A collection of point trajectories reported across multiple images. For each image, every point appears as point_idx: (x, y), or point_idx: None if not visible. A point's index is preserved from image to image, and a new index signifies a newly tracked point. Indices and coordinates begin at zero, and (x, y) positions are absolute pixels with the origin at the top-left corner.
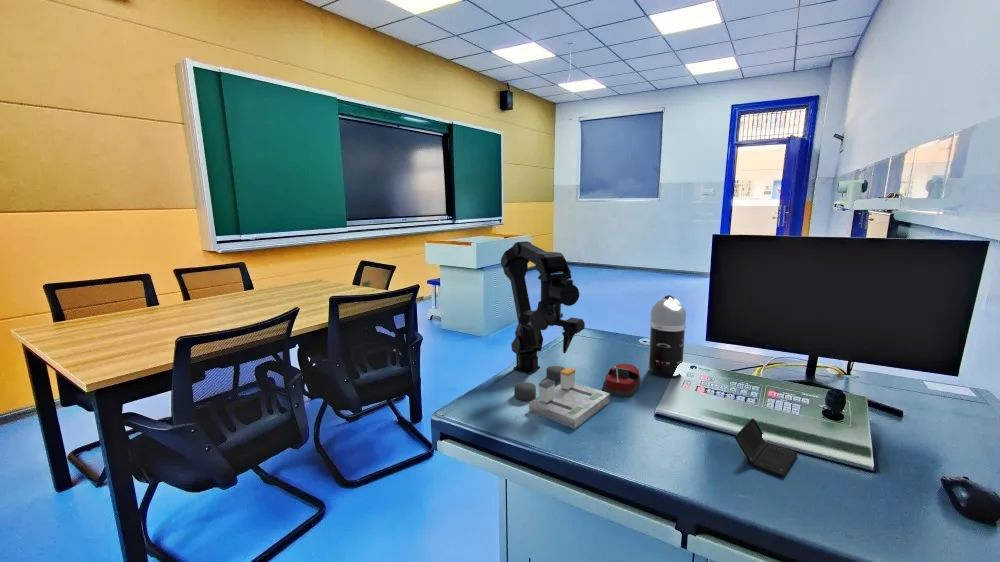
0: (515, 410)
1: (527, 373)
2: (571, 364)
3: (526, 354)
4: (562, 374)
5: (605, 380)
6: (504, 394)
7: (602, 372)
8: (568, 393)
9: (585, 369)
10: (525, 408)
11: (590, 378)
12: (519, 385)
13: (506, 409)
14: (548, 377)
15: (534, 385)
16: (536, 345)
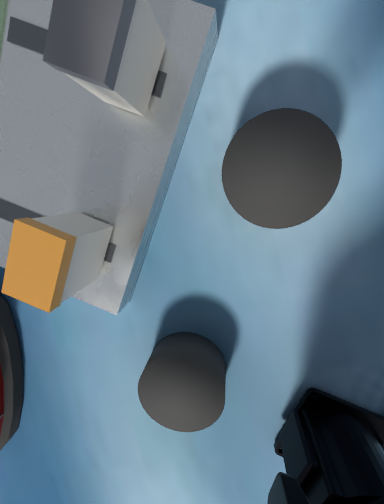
0: (281, 19)
1: (314, 388)
2: (166, 488)
3: (360, 492)
4: (62, 232)
5: (6, 364)
6: (376, 165)
7: (54, 441)
8: (70, 185)
9: (110, 455)
10: (240, 60)
11: (76, 392)
12: (314, 177)
13: (328, 9)
14: (209, 350)
15: (234, 202)
16: (281, 491)
